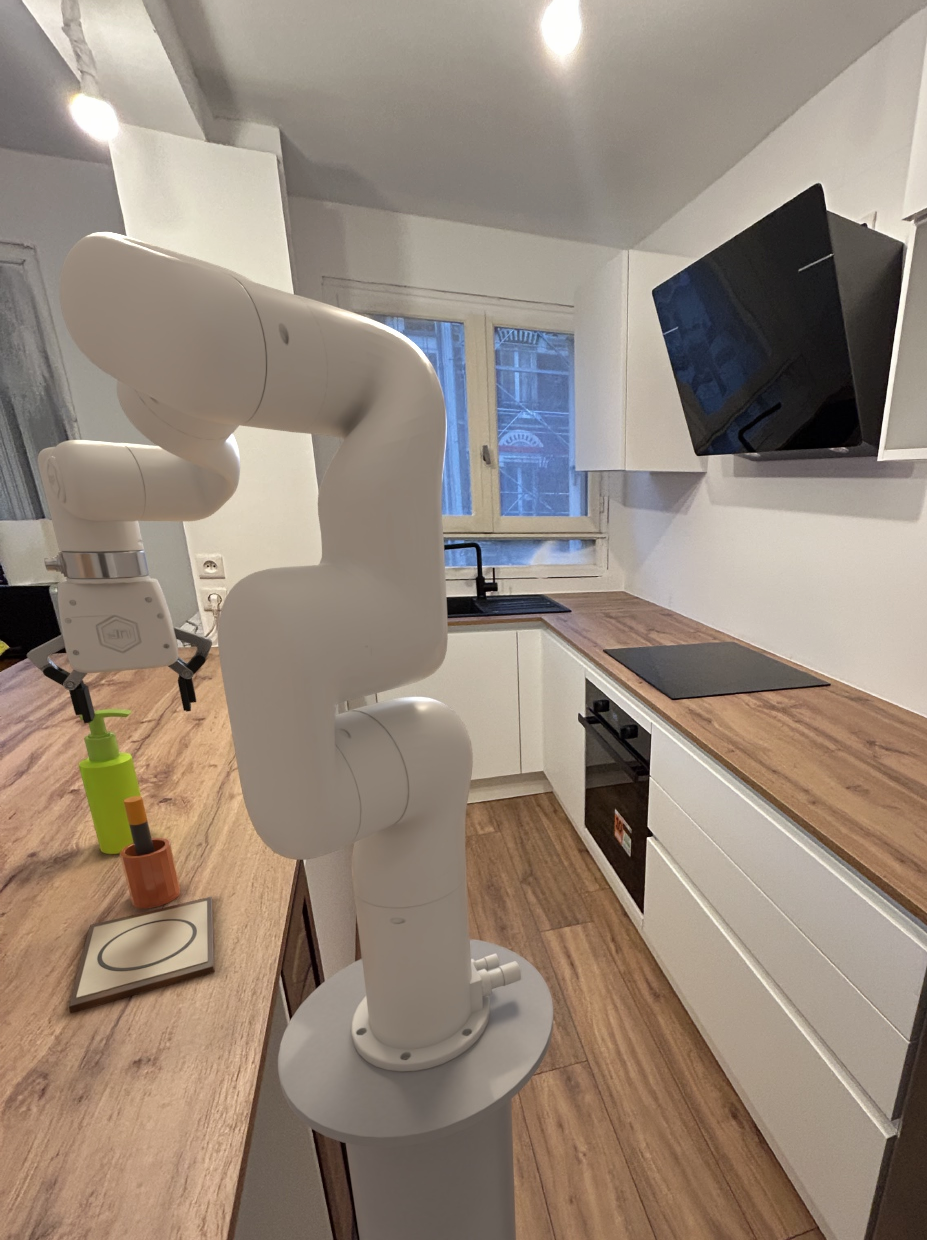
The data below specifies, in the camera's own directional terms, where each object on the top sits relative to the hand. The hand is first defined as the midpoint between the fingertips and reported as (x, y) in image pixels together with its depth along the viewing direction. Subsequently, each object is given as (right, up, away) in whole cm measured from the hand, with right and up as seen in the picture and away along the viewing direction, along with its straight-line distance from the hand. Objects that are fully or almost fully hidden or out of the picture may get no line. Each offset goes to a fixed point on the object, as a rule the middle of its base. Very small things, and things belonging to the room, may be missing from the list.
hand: (140, 714), depth 77 cm
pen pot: (-1, -23, +4) cm, 23 cm away
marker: (-1, -22, +3) cm, 23 cm away
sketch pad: (+6, -26, -6) cm, 28 cm away
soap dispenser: (-13, -18, +16) cm, 28 cm away
